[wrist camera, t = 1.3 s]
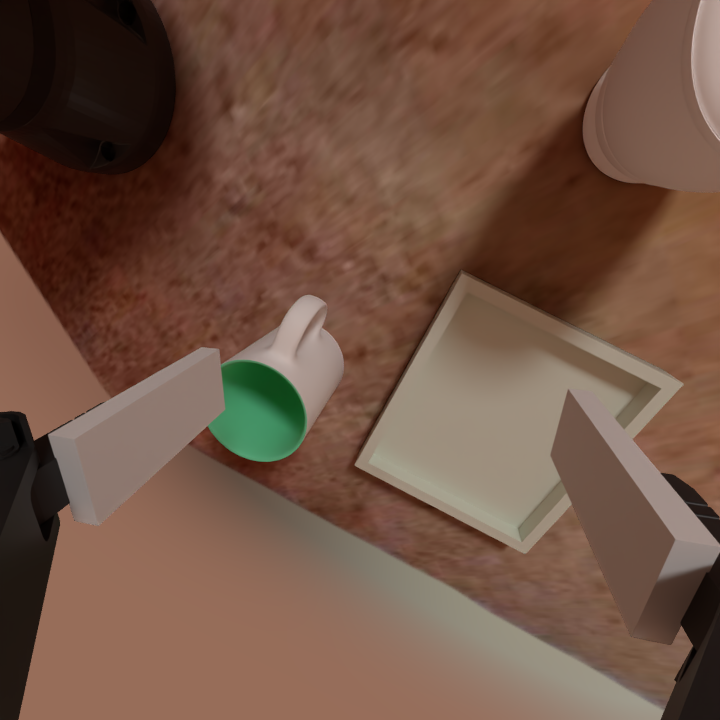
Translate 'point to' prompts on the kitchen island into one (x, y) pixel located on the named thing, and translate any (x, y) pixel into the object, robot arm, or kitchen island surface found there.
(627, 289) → the kitchen island surface
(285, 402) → the mug
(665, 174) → the jar
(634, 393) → the tray
